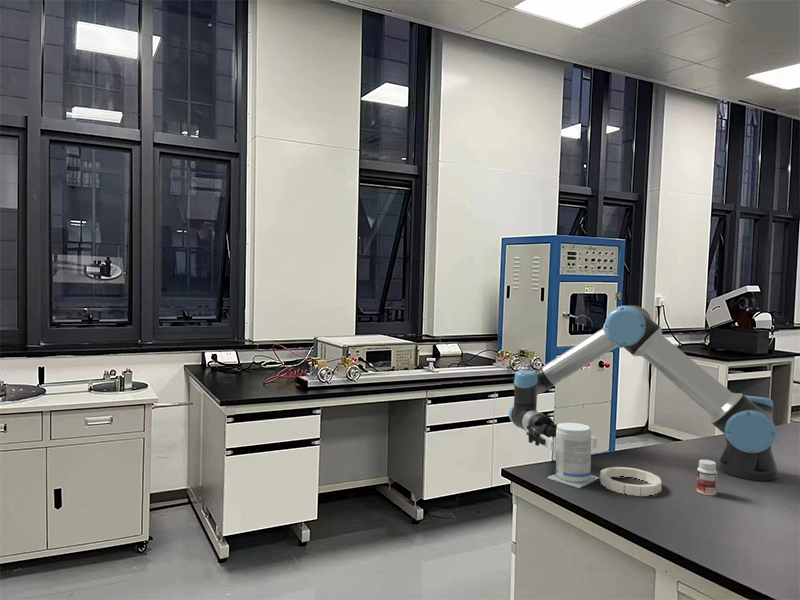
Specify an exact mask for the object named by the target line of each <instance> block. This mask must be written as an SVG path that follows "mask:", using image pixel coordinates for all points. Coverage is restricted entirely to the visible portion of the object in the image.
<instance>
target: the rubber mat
mask: <svg viewBox="0 0 800 600" xmlns="http://www.w3.org/2000/svg"><path fill="white" fill-rule="evenodd" d="M548 479H549V480H551V481H555V482H558V483H562V484H565V485H566V486H567V485H568V486H571V487H573V486H574V487H573V488H577V489H581V488H584V487H585V486H588V485H589V483H590V484H592V483H594V482H596V481H598V480H597V479H599V480H600V476H599V477H598V476H595V475H592V474H591V477H590V479H589V480H587V481H584V482H571V481H566V480H563V479H561V478H559V477H558V476H557V475H556V473H554V474H552V475H548V476H547V480H548ZM595 480H596V481H595ZM593 481H594V482H593ZM591 482H592V483H591ZM587 484H588V485H587Z"/></svg>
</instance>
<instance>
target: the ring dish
mask: <svg viewBox="0 0 800 600" xmlns="http://www.w3.org/2000/svg"><path fill="white" fill-rule="evenodd" d="M619 476H624V477H623V478H625V477H633V478H632V479H634V478H637V479H636V480H638V479H640V480H639V481H641V480H644V481H643V482H645V481H647V482H648V483H647V482H646V483H647V484H634V483H633V484H632V483H627V482H622V481H618V480H615V479H614V478H613V479H612V478H611V477H617V478H620V477H619ZM599 482H601V483H600V485H601V484H602V485H603V487H604V486H605V487H606V489H607V490H609V489H610V490H609V491H611V490H612V492H614V491H615V492H614V493H618V494H621V493H622V494H621V495H625V494H627V495H626V496H633V495H634V496H636V497H650V496H649V495H653V496H656V495H658V494H660V493H662V485H663V484H662V480H661V477H660V476H658V475H656V474H654V473H652V472H650V471H648V470H643V469H639V468H634V467H624V466H621V467H620V466H613V467H612V466H611V467H606V468H604V469H601V470H600V473H599ZM649 483H650V484H649ZM602 485H601V486H602ZM605 487H604V488H605ZM659 492H660V493H659ZM624 493H625V494H624ZM657 493H658V494H657ZM655 494H656V495H655Z"/></svg>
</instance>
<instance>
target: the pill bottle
mask: <svg viewBox="0 0 800 600" xmlns="http://www.w3.org/2000/svg"><path fill="white" fill-rule="evenodd" d="M716 468H717V463H716V461H714V460H710V459H699V461H698V467H697V469H696V472H697V475H696V477H697V478H696V492H697V493H699V494H702V495H704V496H716V495H717V491H718V486H717V485H718V470H717V469H716Z"/></svg>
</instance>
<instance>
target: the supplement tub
mask: <svg viewBox="0 0 800 600" xmlns="http://www.w3.org/2000/svg"><path fill="white" fill-rule="evenodd" d="M556 425H557V430H556V437H555V474H556V475H557V476H558V477H559V478H561V479H563V480H566V481H571V482H584V481H587V480H589V479H590V477H591V475H592V474H591V471H592V470H591V469H592V466H591V465H592V446H591V436H592V434H591V433H592V431H591V427H590V426H589V425H586V424H583V423H577V422H560V423H558V424H556ZM590 431H591V432H590Z"/></svg>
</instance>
